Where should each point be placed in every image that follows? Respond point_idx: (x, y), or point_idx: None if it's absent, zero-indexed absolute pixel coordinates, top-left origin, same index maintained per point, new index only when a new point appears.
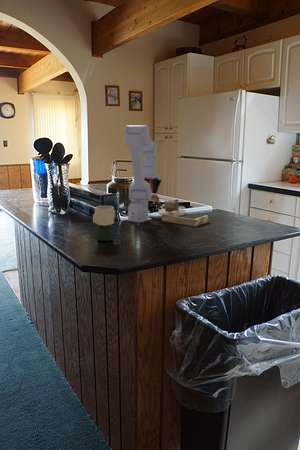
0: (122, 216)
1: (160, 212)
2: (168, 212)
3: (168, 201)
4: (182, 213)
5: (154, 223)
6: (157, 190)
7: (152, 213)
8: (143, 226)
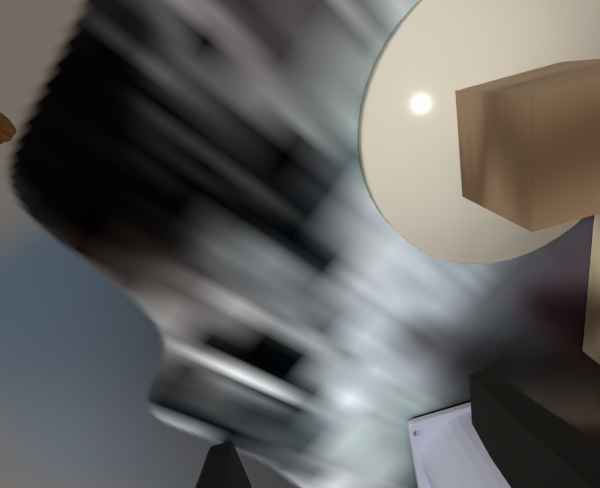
0: (305, 482)
1: (463, 263)
2: None
3: (557, 187)
4: None
5: (585, 418)
6: (529, 398)
7: (365, 278)
8: None
